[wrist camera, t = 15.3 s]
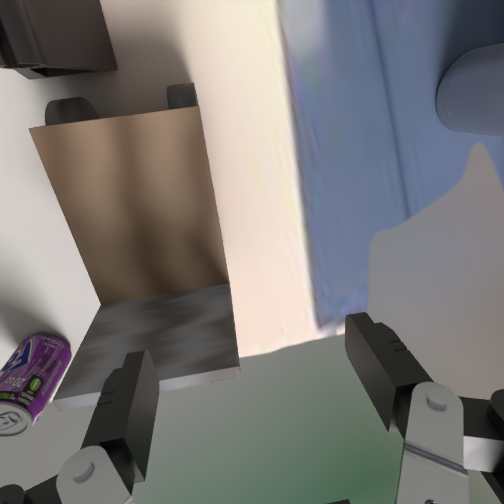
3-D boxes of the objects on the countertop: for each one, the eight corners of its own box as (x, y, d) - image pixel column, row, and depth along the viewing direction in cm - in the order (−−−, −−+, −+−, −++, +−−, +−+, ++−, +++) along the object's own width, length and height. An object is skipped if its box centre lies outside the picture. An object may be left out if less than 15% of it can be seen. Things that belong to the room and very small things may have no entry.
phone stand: (30, 79, 32) (-56, 71, 22) (3, 7, 30) (-110, -42, 19) (118, 69, 33) (76, 57, 22) (100, -2, 30) (42, -54, 20)
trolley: (197, 83, 35) (184, 68, 15) (228, 264, 45) (244, 393, 26) (67, 100, 34) (-126, 106, 14) (129, 280, 44) (68, 426, 25)
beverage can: (59, 325, 46) (15, 395, 35) (81, 359, 49) (47, 432, 39) (12, 337, 46) (-47, 410, 35) (37, 370, 49) (-11, 447, 39)
